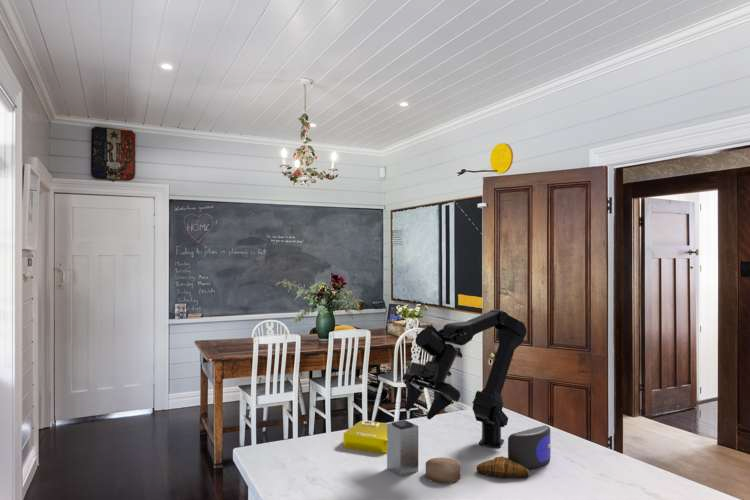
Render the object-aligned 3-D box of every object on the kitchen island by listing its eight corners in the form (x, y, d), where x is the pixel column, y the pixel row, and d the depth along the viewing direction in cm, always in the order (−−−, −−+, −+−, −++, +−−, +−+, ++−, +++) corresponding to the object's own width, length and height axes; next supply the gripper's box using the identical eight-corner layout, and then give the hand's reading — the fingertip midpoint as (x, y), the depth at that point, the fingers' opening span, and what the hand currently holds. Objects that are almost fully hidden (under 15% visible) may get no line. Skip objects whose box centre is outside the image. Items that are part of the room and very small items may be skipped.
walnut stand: (432, 466, 138) (432, 455, 138) (464, 472, 134) (464, 461, 134) (420, 479, 130) (420, 467, 130) (454, 486, 126) (454, 474, 126)
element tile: (341, 448, 152) (341, 432, 152) (361, 432, 166) (360, 418, 166) (387, 455, 146) (387, 439, 147) (404, 438, 160) (404, 423, 160)
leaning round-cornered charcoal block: (519, 475, 133) (519, 438, 133) (506, 468, 137) (506, 433, 137) (559, 461, 141) (559, 427, 142) (546, 456, 145) (546, 423, 145)
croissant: (528, 472, 135) (527, 453, 135) (530, 483, 128) (530, 463, 128) (476, 467, 137) (476, 449, 138) (476, 478, 131) (476, 459, 131)
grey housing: (404, 463, 140) (404, 418, 140) (418, 471, 135) (418, 424, 135) (387, 468, 137) (387, 422, 137) (400, 476, 132) (400, 428, 132)
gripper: (402, 345, 148) (377, 393, 142) (446, 355, 132) (420, 410, 127) (426, 363, 153) (403, 411, 147) (471, 375, 138) (447, 428, 132)
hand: (417, 414), depth 138 cm, fingers open, 9 cm apart
